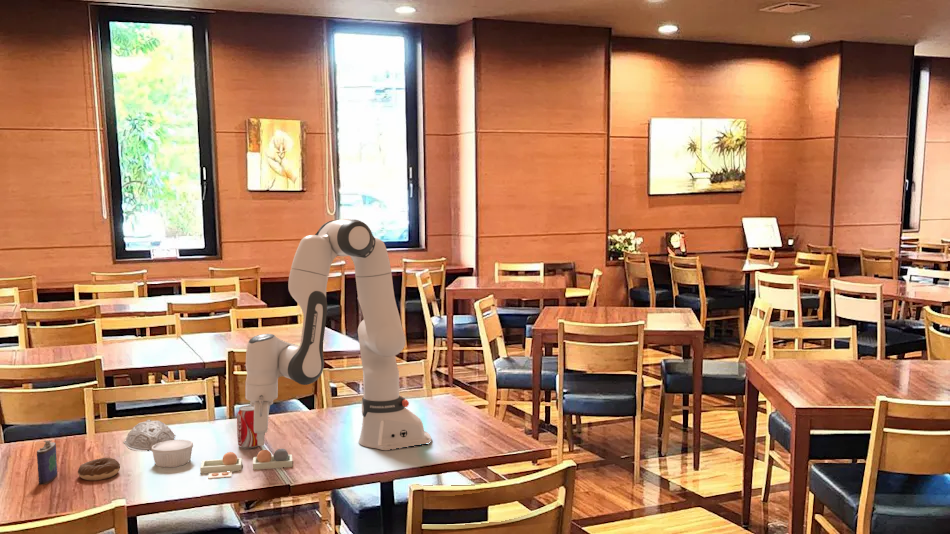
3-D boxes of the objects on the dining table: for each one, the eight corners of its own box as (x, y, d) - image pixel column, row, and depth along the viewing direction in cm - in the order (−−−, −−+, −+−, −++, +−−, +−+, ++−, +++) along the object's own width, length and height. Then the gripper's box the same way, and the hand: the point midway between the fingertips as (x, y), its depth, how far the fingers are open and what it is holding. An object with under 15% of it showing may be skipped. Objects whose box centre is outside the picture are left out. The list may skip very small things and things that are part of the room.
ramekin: (151, 459, 239) (150, 441, 239) (191, 454, 244) (191, 437, 243) (152, 471, 229) (152, 452, 229) (194, 466, 233) (194, 448, 233)
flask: (49, 473, 227) (47, 435, 226) (60, 473, 227) (59, 435, 226) (36, 485, 217) (34, 445, 217) (48, 484, 218) (46, 445, 217)
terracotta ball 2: (271, 461, 236) (271, 447, 236) (271, 465, 232) (271, 451, 232) (257, 462, 235) (257, 448, 235) (257, 466, 231) (256, 452, 231)
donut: (117, 480, 222) (117, 466, 221) (74, 484, 219) (74, 469, 218) (122, 468, 232) (122, 454, 232) (81, 471, 229) (81, 457, 229)
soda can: (254, 450, 248) (254, 411, 247) (233, 448, 249) (232, 410, 248) (265, 443, 255) (264, 405, 254) (244, 442, 256) (243, 404, 255)
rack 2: (292, 460, 238) (291, 454, 238) (292, 466, 232) (292, 461, 232) (253, 462, 236) (253, 457, 236) (252, 469, 230) (252, 463, 230)
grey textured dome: (173, 426, 273) (170, 406, 272) (180, 451, 250) (177, 430, 249) (123, 436, 267) (120, 416, 266) (125, 462, 244) (122, 441, 243)
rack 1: (242, 463, 235) (241, 457, 235) (241, 470, 229) (240, 464, 229) (202, 466, 233) (202, 460, 232) (200, 473, 227) (200, 467, 226)
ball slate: (288, 459, 237) (287, 446, 237) (288, 464, 233) (288, 450, 233) (273, 460, 236) (273, 447, 236) (273, 465, 232) (273, 451, 232)
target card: (231, 472, 228) (231, 470, 228) (231, 477, 224) (231, 475, 224) (209, 474, 226) (209, 472, 226) (208, 478, 222) (208, 477, 222)
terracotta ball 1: (237, 463, 234) (237, 449, 233) (237, 467, 230) (236, 454, 230) (223, 464, 233) (222, 450, 232) (222, 469, 229) (221, 455, 229)
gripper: (272, 400, 222) (272, 450, 223) (273, 384, 242) (273, 430, 243) (248, 401, 221) (248, 451, 222) (251, 384, 241) (251, 431, 242)
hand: (261, 440), depth 233 cm, fingers open, 8 cm apart
